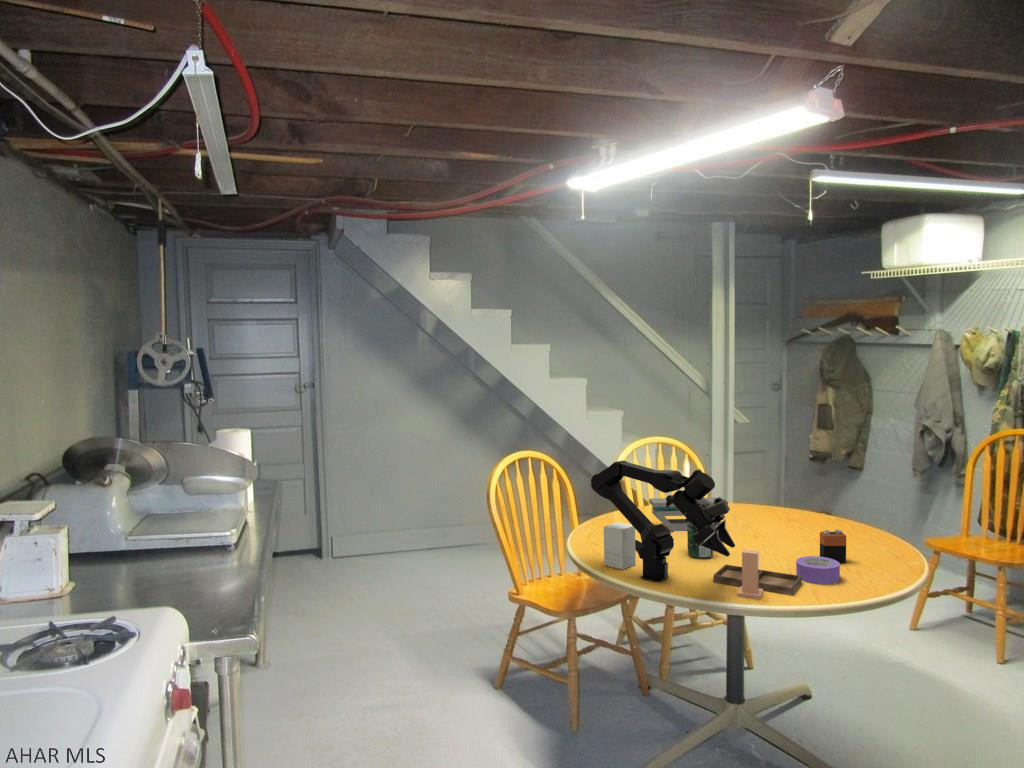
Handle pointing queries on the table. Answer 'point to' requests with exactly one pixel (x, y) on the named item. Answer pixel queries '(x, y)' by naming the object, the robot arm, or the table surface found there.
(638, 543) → the electric trimmer
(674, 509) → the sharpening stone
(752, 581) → the pink post on base
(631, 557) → the supplement box
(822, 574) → the tape roll
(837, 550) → the battery
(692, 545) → the coffee jar
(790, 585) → the divided tray
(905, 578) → the table surface
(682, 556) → the table surface
